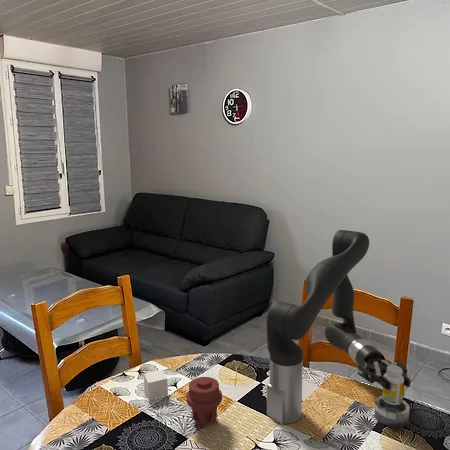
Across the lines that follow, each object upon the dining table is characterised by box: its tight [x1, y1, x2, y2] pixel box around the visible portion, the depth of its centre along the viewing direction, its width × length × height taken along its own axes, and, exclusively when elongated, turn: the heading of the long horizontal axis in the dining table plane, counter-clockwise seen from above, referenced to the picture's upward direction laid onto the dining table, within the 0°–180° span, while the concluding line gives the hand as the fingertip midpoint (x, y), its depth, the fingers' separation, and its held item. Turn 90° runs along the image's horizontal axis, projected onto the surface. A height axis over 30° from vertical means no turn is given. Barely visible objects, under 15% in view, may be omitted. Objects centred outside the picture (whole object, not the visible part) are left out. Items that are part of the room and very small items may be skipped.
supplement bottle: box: [381, 365, 405, 405], centre depth 118 cm, size 5×5×10 cm
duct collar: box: [374, 395, 411, 429], centre depth 119 cm, size 9×9×4 cm
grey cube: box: [143, 369, 169, 401], centre depth 132 cm, size 6×6×6 cm
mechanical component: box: [185, 376, 223, 428], centre depth 118 cm, size 12×10×10 cm
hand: (399, 385), depth 115 cm, fingers closed on supplement bottle, 5 cm apart
